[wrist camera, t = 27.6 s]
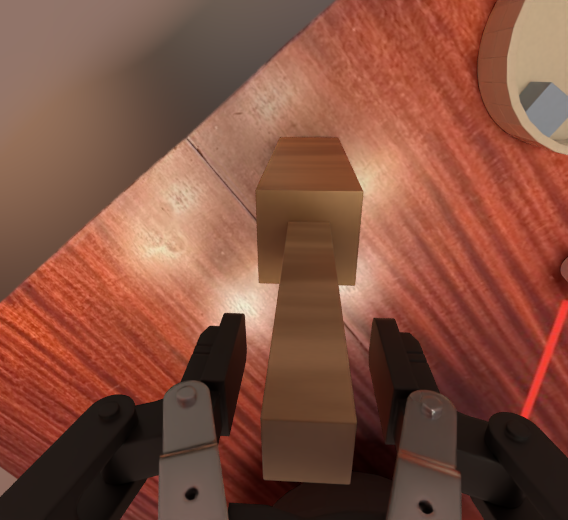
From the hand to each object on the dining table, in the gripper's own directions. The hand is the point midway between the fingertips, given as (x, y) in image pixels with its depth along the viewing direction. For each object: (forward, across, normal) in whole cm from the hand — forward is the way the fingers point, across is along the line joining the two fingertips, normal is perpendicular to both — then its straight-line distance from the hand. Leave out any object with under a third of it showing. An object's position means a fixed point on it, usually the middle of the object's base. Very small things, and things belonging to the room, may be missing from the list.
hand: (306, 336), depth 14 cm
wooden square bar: (+9, 0, 0) cm, 9 cm away
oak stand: (+29, 0, 0) cm, 29 cm away
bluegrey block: (+29, -21, -6) cm, 36 cm away
